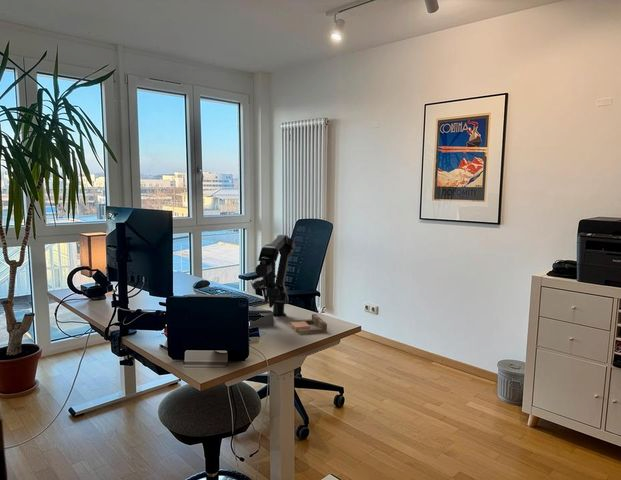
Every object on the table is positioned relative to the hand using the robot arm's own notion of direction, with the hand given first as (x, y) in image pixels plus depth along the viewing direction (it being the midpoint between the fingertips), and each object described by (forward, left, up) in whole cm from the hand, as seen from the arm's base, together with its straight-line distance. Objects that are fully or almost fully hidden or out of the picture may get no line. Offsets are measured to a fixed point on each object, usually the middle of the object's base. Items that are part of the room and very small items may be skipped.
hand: (268, 304), depth 204 cm
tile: (+11, +13, -10) cm, 19 cm away
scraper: (+1, -4, -9) cm, 10 cm away
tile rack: (+10, +16, -9) cm, 21 cm away
